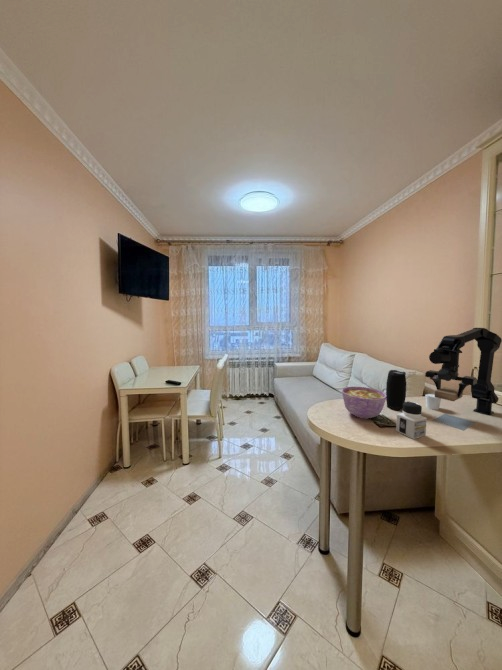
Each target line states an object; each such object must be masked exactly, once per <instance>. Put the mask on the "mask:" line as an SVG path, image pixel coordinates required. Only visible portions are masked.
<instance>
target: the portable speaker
mask: <svg viewBox="0 0 502 670" xmlns="http://www.w3.org/2000/svg"><path fill="white" fill-rule="evenodd" d="M406 375H407V374H406V372H405V371H399V370H397V369H390V370H389V371H388V373H387V378H386V383H385V384H386V385H385V389H386V390H385V391H386V392H385V394H386V395H387V397H386V400H385V402H386V407H387V408H392V409H393V410H394V411H403V403H404V402H406V398H407V396H406V395H407V378H406V377H407V376H406Z"/></svg>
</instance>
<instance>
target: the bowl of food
mask: <svg viewBox="0 0 502 670" xmlns="http://www.w3.org/2000/svg"><path fill="white" fill-rule="evenodd" d="M341 393H342V398H343V402H344V403H343V404H344V406H345V407H344V408H345V409H346V410H347V411H348V412H349V413H350V414H352V415H353V416H354V415H355V416H354V417H356V416H357V417H356V418H358V417H360V418H359V419H363V418H370V419H371V418H375V417H378V416H379V415H380V414H381V413H382V411H383V408H384V406H385V403H386V397H387V395H386V392H384V391H382V390H379V389H376V388H372V387H366V386H346V387H344V388H342V389H341Z"/></svg>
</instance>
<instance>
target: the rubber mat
mask: <svg viewBox="0 0 502 670" xmlns="http://www.w3.org/2000/svg"><path fill="white" fill-rule="evenodd" d="M431 421H433V422H435V423H438V424H442V425H445V426H449V427H452V428H455V429H458V430H461V431H465V430H467V429H469V428H470V427H471V426H474V424H477V422H476V421H472V420H469V419H466V418H463V417H459V416H455V415H452V414H448V413H443V414H442V415H439V416H437V417H435V418H433V419H431Z"/></svg>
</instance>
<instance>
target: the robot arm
mask: <svg viewBox="0 0 502 670" xmlns="http://www.w3.org/2000/svg"><path fill="white" fill-rule="evenodd" d="M474 340H475V342H476V343H477V345H476V346H477V347H478V349H479V351H480V356H479V365H478V372H477V377H475V376H469V375H464V376H459V375H460V374H459V368H460V364H459V361H460V354H462V353H463V351H462V350H461V349H462V348H463V347H465V346H466V343H469V342H471V341H474ZM501 344H502V338H501V336H499V335H498V334H497V333H495V332H492V331H490V330H488V329H487V328H485V327H474V328H471V329H470V330H467V331H464V332H461V333H459V334H455V335H454V334H449V335H444V336H443V337H442V339H441V340H440V342H439V344H438V345H437V346H436V348H434V349H433V351H432V352H431V353H430V354H429V356H428V358H429V361H430V363H431V364H434V365H440V364H441V368H440V369H439V370H434V369H432V370H431V369H430V370H426V372H424V373H425V375H424V377H425V378H429V380H430V381H431V380H432V382H433V383H434V385H435V387H436V390H438V389H441V388H442V387H441V386H442V380H443V381H446V382H449V381H451V380H454V381H458V382H459V381H460V383H458V389H457V390H458V397H460V395H461V394H462V392H464V390H465V389H466V388H467V387H468V386H471V388H470V393H471V398H472V399H475V400H476V404H475V405H476V407H475V408H474V409H473V412H476V413H481V414H485V415H487V416H489V415H492V414H494V413H495V411H492V409H493V408H492V407H493V404H497V403H498V401H499V397H498V395H497V393H495V386H494V384H493V383H492V373H493V365H494V357H495V353H496V352H497V350H499V349H500V347H501Z"/></svg>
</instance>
